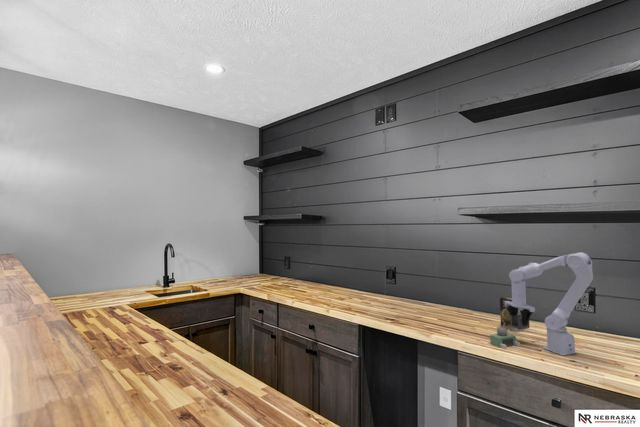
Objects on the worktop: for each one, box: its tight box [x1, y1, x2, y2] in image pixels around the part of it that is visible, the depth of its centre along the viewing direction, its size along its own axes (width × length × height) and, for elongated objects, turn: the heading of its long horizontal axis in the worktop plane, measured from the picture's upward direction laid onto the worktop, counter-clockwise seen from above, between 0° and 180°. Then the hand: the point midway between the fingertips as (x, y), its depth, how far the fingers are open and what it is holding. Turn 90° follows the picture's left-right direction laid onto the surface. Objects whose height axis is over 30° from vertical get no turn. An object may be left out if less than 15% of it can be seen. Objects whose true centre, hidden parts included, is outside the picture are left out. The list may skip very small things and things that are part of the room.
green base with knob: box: [489, 326, 521, 350], centre depth 156 cm, size 8×10×7 cm
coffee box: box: [499, 296, 525, 333], centre depth 180 cm, size 9×6×16 cm
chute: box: [510, 315, 530, 330], centre depth 160 cm, size 6×5×5 cm
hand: (519, 323), depth 160 cm, fingers closed on chute, 5 cm apart
